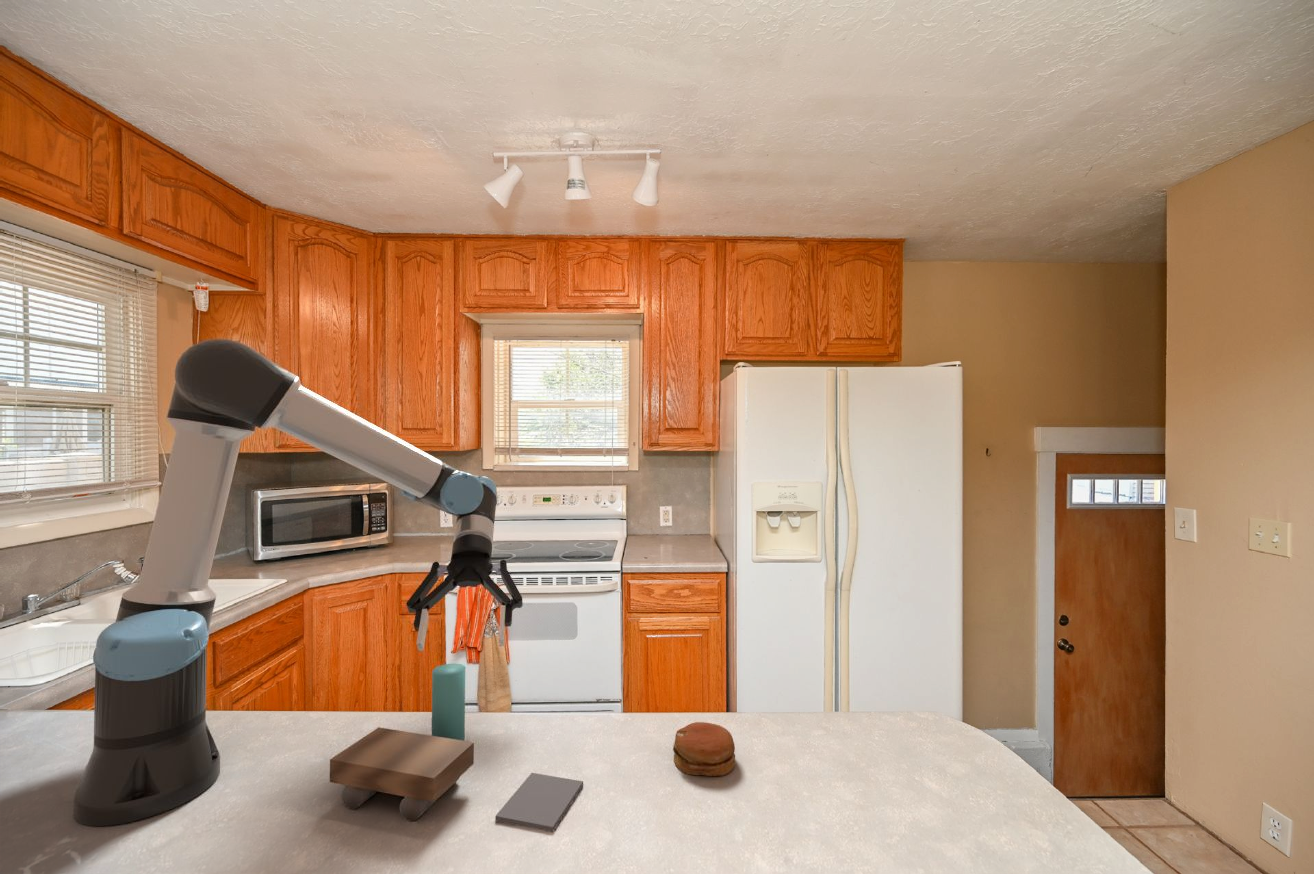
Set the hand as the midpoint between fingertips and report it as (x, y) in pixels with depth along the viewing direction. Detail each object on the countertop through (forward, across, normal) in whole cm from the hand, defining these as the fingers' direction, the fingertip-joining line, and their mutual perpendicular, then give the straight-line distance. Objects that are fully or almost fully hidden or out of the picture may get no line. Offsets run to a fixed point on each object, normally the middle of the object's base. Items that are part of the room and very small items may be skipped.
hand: (461, 645), depth 100 cm
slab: (+24, +4, +5) cm, 25 cm away
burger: (+23, -38, +4) cm, 45 cm away
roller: (+15, +1, -4) cm, 15 cm away
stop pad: (+27, -14, +9) cm, 32 cm away
